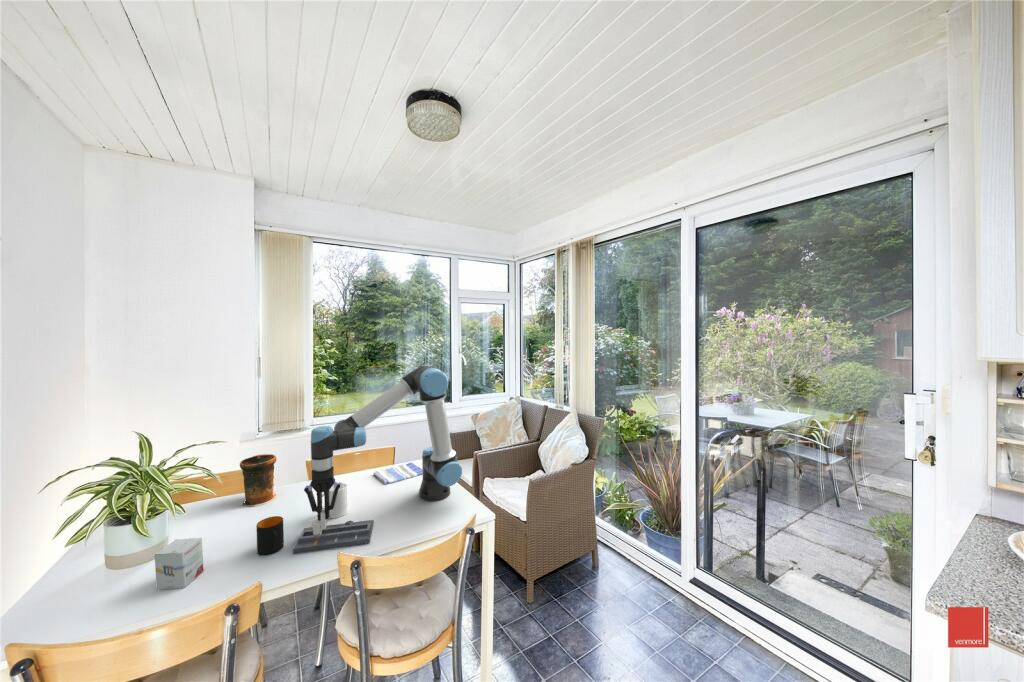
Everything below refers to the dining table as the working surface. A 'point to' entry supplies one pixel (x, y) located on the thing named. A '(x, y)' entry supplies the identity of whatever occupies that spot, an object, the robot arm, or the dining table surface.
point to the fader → (316, 527)
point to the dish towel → (398, 473)
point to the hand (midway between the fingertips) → (323, 527)
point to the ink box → (178, 563)
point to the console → (335, 537)
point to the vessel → (258, 479)
